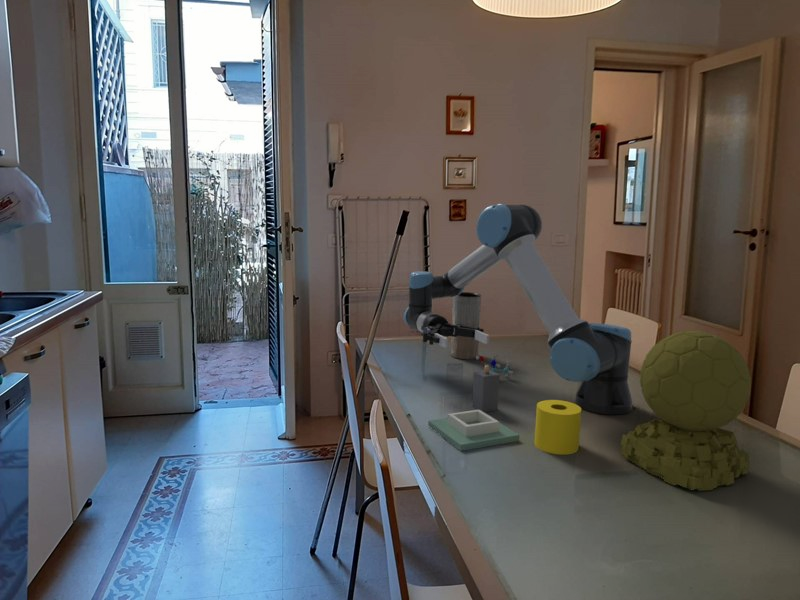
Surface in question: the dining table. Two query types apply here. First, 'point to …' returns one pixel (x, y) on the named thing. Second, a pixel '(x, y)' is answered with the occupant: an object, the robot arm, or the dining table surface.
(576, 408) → the yellow hollow cylinder
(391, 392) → the dining table surface
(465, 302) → the planter
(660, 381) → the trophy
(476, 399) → the plug
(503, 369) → the molecular model
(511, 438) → the board
